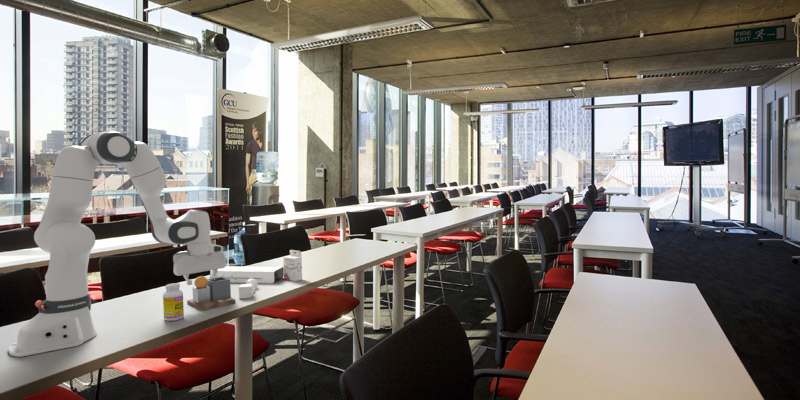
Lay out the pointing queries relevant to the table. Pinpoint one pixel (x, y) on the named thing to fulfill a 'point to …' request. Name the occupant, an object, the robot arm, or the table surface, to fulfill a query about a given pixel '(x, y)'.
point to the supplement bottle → (173, 302)
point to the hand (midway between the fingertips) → (201, 282)
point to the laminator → (250, 274)
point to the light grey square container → (201, 295)
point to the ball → (200, 282)
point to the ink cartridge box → (293, 266)
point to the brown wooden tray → (211, 303)
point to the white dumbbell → (248, 288)
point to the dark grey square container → (219, 288)
